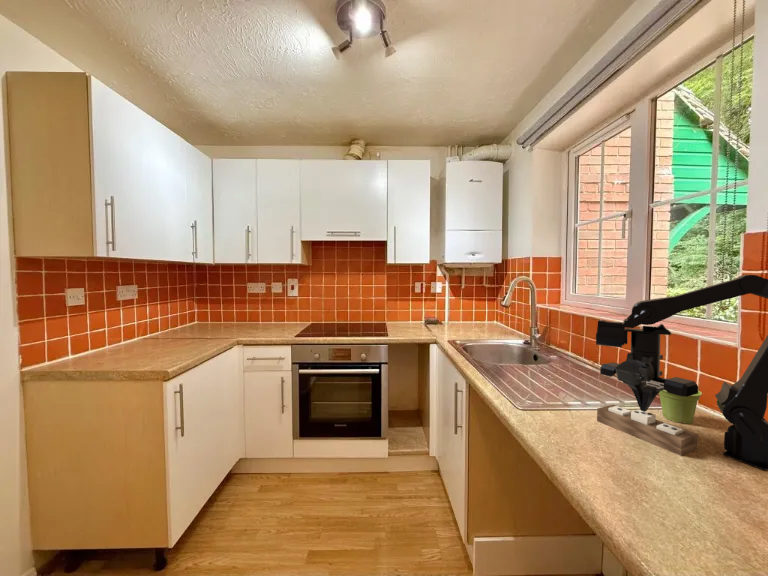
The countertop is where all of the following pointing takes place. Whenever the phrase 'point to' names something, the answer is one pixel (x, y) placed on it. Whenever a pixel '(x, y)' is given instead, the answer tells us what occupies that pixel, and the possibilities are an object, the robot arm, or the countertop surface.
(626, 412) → the tile one dot
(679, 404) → the plant pot
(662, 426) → the tile two dot
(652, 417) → the tile three dot
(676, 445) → the tile board
